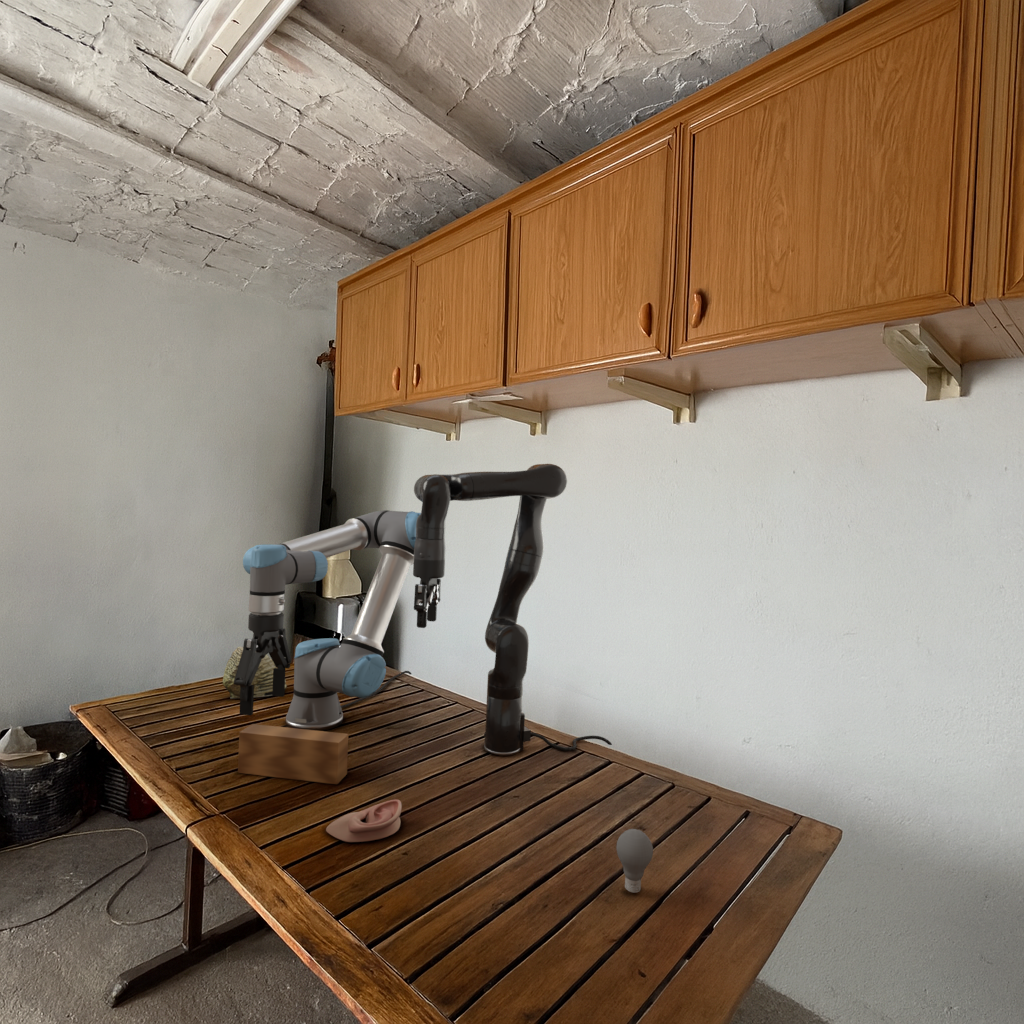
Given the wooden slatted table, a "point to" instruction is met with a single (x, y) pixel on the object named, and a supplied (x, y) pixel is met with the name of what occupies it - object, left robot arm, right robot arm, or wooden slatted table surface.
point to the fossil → (260, 681)
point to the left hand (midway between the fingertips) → (263, 704)
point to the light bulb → (634, 857)
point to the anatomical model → (368, 823)
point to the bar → (293, 753)
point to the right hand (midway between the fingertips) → (426, 624)
